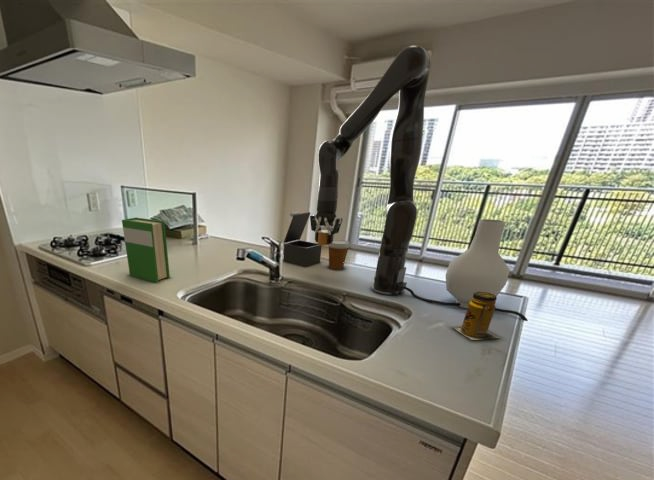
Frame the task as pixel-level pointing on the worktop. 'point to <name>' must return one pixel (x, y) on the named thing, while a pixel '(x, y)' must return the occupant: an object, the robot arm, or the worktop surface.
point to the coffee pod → (322, 237)
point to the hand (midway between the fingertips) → (323, 242)
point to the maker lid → (296, 226)
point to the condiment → (479, 317)
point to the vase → (479, 265)
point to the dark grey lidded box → (302, 253)
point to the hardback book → (146, 248)
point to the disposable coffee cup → (338, 253)
